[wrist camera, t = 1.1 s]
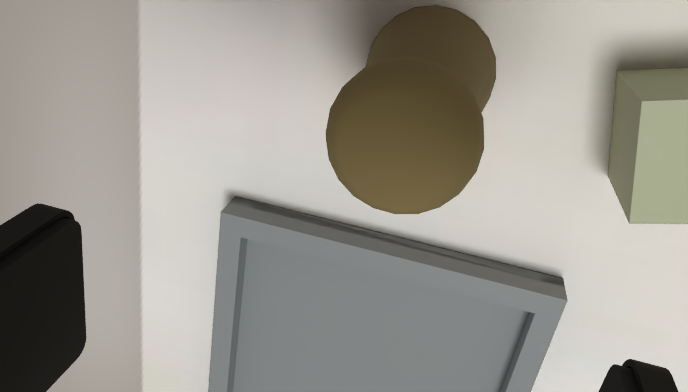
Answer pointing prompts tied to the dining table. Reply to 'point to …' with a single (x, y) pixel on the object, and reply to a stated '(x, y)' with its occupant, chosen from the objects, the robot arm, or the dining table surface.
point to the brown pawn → (414, 112)
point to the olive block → (651, 145)
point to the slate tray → (369, 311)
